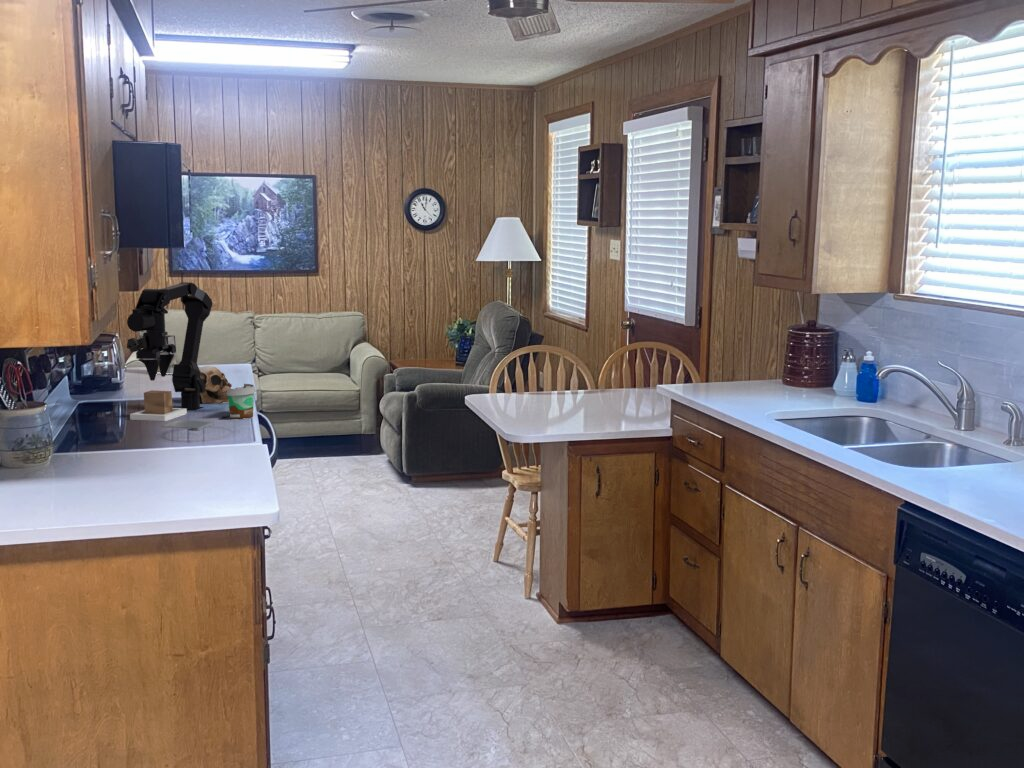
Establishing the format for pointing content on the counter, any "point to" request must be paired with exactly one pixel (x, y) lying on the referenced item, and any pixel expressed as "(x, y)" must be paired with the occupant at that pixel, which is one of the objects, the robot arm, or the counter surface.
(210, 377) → the brown skull
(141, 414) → the pocket tray
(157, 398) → the walnut block
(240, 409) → the food container
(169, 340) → the coffee box
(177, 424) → the slate trivet
